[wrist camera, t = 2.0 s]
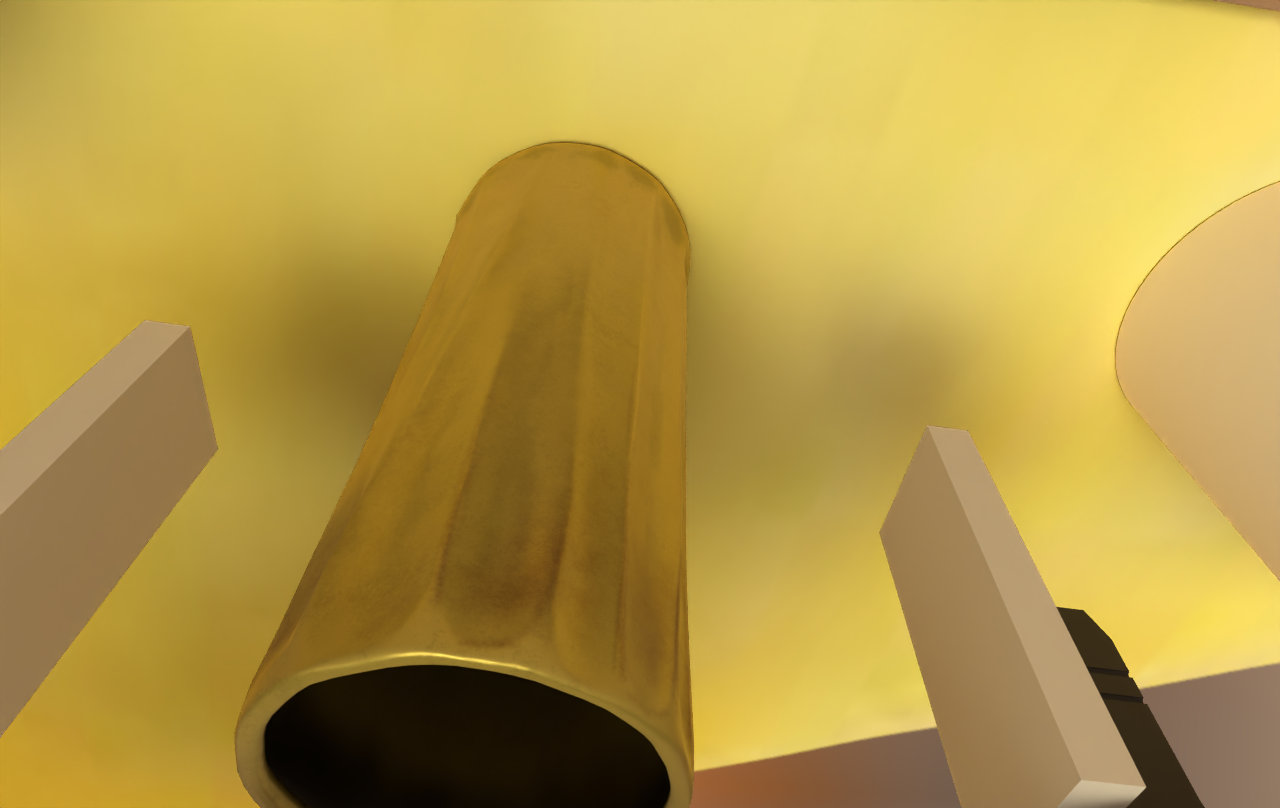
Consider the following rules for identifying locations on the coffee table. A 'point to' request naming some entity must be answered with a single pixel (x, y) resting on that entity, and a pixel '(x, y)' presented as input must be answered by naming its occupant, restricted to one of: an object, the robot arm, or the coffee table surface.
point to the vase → (507, 528)
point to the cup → (1216, 362)
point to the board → (1257, 3)
